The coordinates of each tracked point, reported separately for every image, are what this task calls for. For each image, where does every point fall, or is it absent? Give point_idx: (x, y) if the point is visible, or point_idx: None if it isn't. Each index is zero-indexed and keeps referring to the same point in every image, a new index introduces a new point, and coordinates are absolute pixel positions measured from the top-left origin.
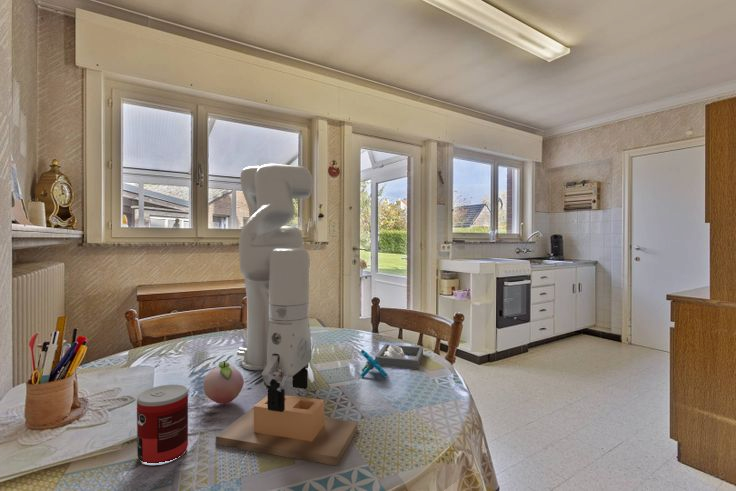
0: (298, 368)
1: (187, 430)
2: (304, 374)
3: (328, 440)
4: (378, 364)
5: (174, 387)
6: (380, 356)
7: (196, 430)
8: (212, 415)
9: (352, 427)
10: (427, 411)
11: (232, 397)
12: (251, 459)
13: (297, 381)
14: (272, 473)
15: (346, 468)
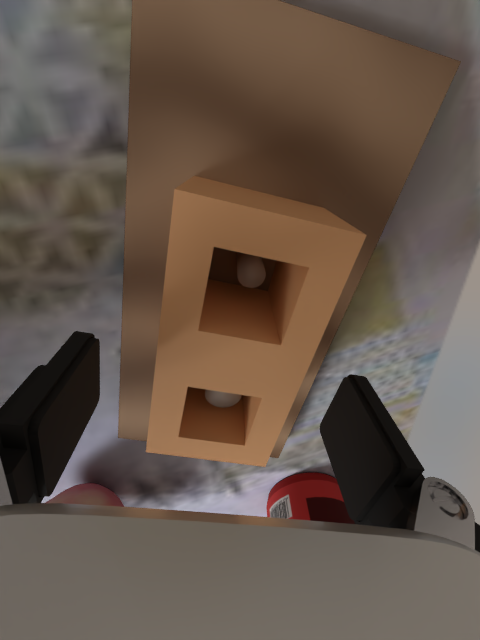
0: (364, 579)
1: (306, 516)
2: (52, 409)
3: (322, 131)
4: None
5: None
6: None
7: (220, 485)
8: (153, 485)
9: None
10: None
11: (106, 498)
12: (344, 358)
13: (84, 405)
14: (417, 294)
15: (464, 16)
